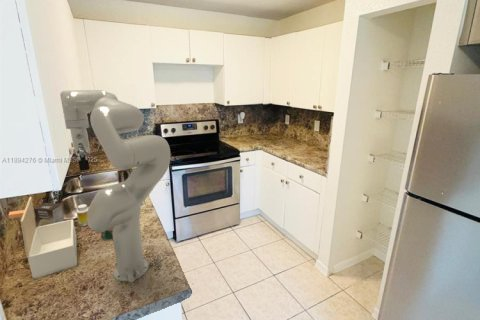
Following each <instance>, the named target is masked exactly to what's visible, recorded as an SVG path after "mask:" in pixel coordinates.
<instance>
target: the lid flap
mask: <svg viewBox="0 0 480 320" xmlns="http://www.w3.org/2000/svg"><path fill="white" fill-rule="evenodd" d="M16 218H21V219H20V227H21V232H22V233H21V234H22V239H23V244H24V246H23V247H24V251H25V257H27V258H28V256H29V252H30V248H31V244H32V240H33V237H34V233H35V229H36V227H37V222H36V216H35V212H34V204H33V198H32V196H30V197H29V198H28V200H27V204H26V206H25V208H24V209H21V210H13V211H9V213H8V219H11V220H12V219H16Z"/></svg>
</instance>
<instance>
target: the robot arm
mask: <svg viewBox="0 0 480 320" xmlns="http://www.w3.org/2000/svg"><path fill="white" fill-rule="evenodd" d="M60 101H61V107H62V112H63V113H62V114H63V118H64V123H65V128H66V129H67V130H70V135H71V139H72V145H73V148H74V152H75V155H77V158H78V160H77V161H78V167H79V171H80V172H81V171H82V172H83V171H88V170H90V165H89V163H90V162H89V158H88V154H91V148H90V141H89V136H88V130H87V129H88V128H90V126H91V128H92V131H93V133H94V135H95V136H96V138H97V141H98V142H99V144H100V146H101V148H102V150H103V152H104V153H105V156H106V158H107V160H108V161H109V163H110V165H112V166H113V167H114V168H115V169H116V170H121V171H122V170H123V171H125V170H129V169H132V171H131V172H130V174H129V176H127V178H126V179H125V180H124V181H120V182H118V183H116V184H112V185H109V186H106V187H104V188H102V189H100V190H99V191H97V192H96V194H95V195H94V198H93V199H92V201H91V203H90V205H89V206H88V208H89V209H88V212H87V222H88V225H87V226H88V227H89V228H90V229H91V230H92V231H94V232H96V233H101V232H103V231H106V230H108V229H111V228H113V227H114V228H113V239H112V241H113V247H114V255H115V261H116V266H115V268H114V269H113V277H114V280H117V281H119V282H124V283H125V282H126V283H127V282H128V283H133V282H134V281H135V280H137V279H139V278H141V277H143V275H145V274H146V273H147V272H148V271H149V262H148V260H146V259H145V258H144V254H143V253H144V252H143V242H142V234H141V233H142V232H141V222H140V221H141V219H140V218H141V207H142V206H141V205H142V204H143V203H144V202H145V200H146V199H147V198H148V197H149V195H150V194H151V193H152V191H153V190H154V188H155V187H156V186H157V184H158V183H159V182H160V181H161V180H162V179H163V177H164V176H165V175H166V172H167V171H168V169H169V167H170V164H171V163H170V162H171V148H170V145H169V143H168V141H167V140H166V138H164V137H162V136H160V135H156V134H148V135H147V134H146V135H139V136H134V137H130V138H129V137H128V138H125V139H122V138H121V136H120V134H125V133H130V132H135V131H137V130H138V129H140V128H141V127H143V125H144V124H143V123H144V121H145V116H144V114H143V112H142V111H141V110H140V108H139V107H137V106H135V105H133V104H130V103H127V102H124V101H121V100H119V99H118V97H117V96H116V94H114V93H112V92H109V91H107V90H106V91H105V90H99V89H89V90H84V89H82V90H81V89H78V90H77V89H76V90H62V91H61V92H60ZM88 112H90V118H88ZM89 119H90V124H91V125H90V124H89ZM133 168H134V169H133Z"/></svg>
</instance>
